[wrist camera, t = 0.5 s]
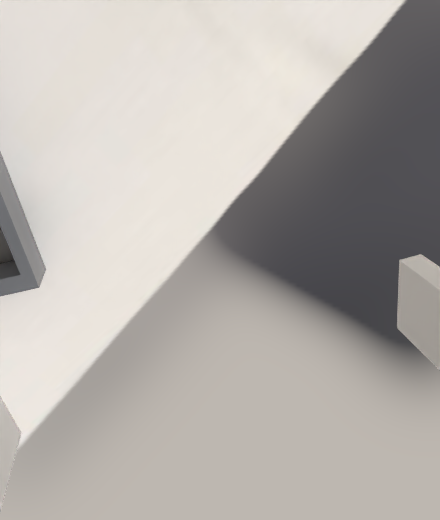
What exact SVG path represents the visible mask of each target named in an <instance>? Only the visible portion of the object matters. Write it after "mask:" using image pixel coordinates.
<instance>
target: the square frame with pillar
mask: <svg viewBox="0 0 440 520" xmlns="http://www.w3.org/2000/svg"><path fill="white" fill-rule="evenodd" d="M0 227H1V230H2V232H3V234H4V237H5V239H6V242H7V244H8V246H9V249H10V251H11V253H12V256H13V258H14V261H10V262H5V263H0V296H4V295H8V294H13V293H17V292H22V291H26V290H30V289H35V288H39V287H40V284H41V281H42V278H43V276H44V273H45V270H46V268H45V266H44V263H43V260H42V258H41V255H40V253H39V250H38V248H37V245H36V242H35V240H34V237H33V235H32V232H31V230H30V227H29V224H28V222H27V219H26V217H25V214H24V211H23V209H22V206H21V204H20V201H19V199H18V196H17V193H16V191H15V188H14V186H13V183H12V181H11V178H10V175H9V173H8V170H7V168H6V165H5V163H4V160H3V157H2V155H1V152H0Z"/></svg>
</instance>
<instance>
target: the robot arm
mask: <svg viewBox="0 0 440 520" xmlns="http://www.w3.org/2000/svg"><path fill="white" fill-rule="evenodd" d="M397 328H398V329H399V330H400V331H401V332H402V333H403V334H404V335H405V336H406V337H407V338H408V339H409V340H410V341H411V342H412V343H413V344H414V345H415V346H416V347H417V348H418V349H419V350H420V351H421V352H422V353H423V354H424V355H425V356H426V357H427V358H428V359H429V360H430V361H431V362H432V363H433V364H434V365H435V366H436V367H437V368H438V369H439V370H440V267H439V266H438V265H436V264H434V263H433V262H432V261H430V260H429V259H427V258H425V257H424V256H423V255H417V256H413V257H409V258H406V259H402V260H400V262H399V289H398V315H397ZM20 436H21V431H20V430H19V428H18V426H17V424H16V423H15V421H14V419H13V417H12V416H11V414H10V412H9V410H8V409H7V407H6V405H5V403H4V402H3V400H2V398H1V396H0V511H1V507H2V503H3V500H4V496H5V492H6V489H7V485H8V481H9V477H10V474H11V470H12V466H13V462H14V459H15V455H16V451H17V447H18V444H19V440H20Z"/></svg>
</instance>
